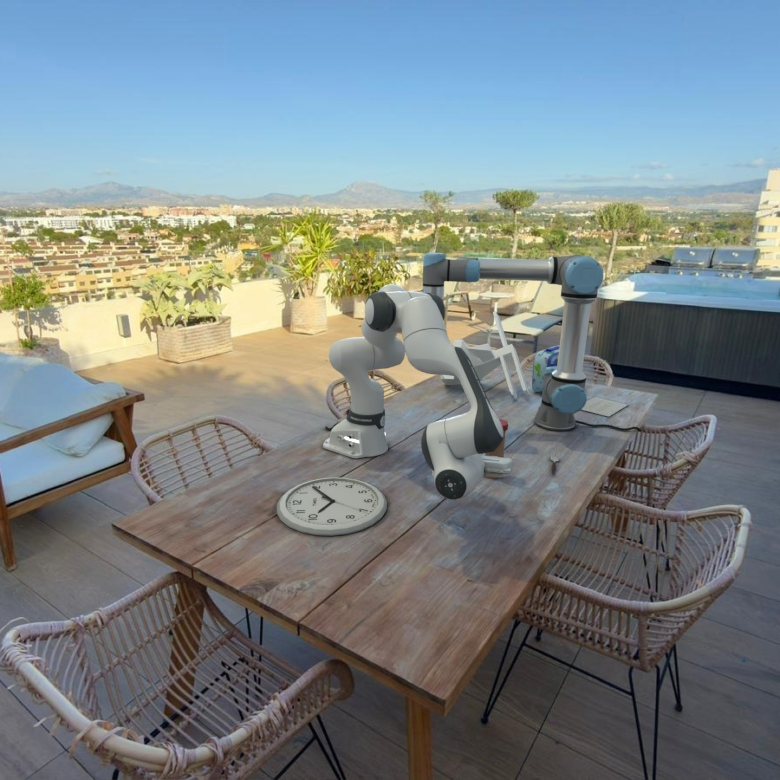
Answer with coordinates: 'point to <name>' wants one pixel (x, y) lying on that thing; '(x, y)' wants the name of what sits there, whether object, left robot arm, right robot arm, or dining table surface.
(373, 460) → the dining table surface
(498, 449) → the jar
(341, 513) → the wall clock
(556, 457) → the fork
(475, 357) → the white plastic object
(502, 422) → the lid
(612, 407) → the invitation card
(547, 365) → the lunch box
